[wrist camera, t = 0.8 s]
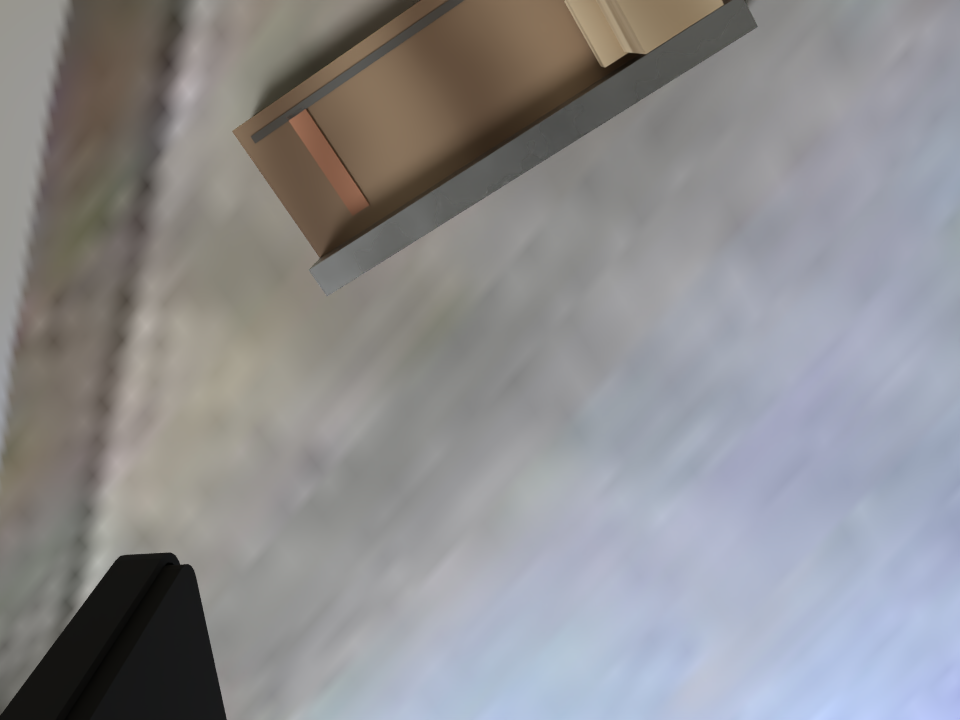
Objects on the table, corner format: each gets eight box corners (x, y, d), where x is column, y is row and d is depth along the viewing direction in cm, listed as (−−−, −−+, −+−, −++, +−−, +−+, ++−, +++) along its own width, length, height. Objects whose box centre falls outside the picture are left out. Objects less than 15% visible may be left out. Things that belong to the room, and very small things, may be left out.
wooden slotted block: (642, -147, 32) (657, -172, 29) (732, 28, 34) (757, 26, 30) (247, 126, 36) (215, 136, 33) (346, 270, 38) (327, 296, 34)
